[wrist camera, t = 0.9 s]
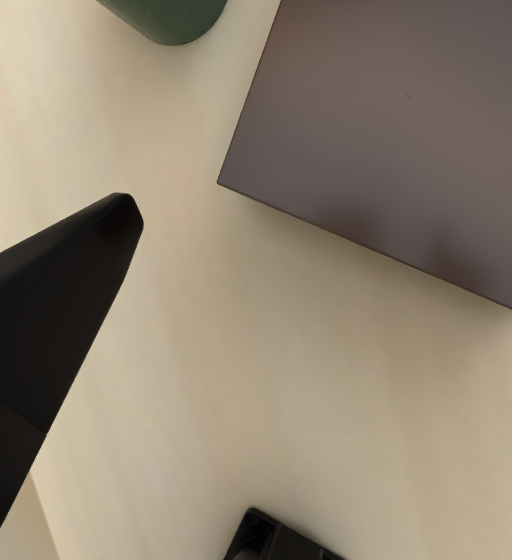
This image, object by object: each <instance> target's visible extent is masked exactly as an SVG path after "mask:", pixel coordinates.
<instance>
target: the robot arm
mask: <svg viewBox="0 0 512 560" xmlns="http://www.w3.org/2000/svg"><path fill="white" fill-rule="evenodd" d="M143 226H144V222H143V218H142V216H141V214H140V211H139V209H138V207H137V205H136V202H135V200H134V198H133V197H132V196H131V195H130V194H127V193H112V194H110V195H108V196H107V197H105V198H103V199H101V200H99V201H97V202H95V203H93V204H91V205H90V206H88V207H86V208H84V209H82V210H80V211H78V212H76V213H74V214H73V215H71V216H69V217H67V218H65V219H63V220H61V221H59V222H57V223H56V224H54V225H52V226H50V227H48V228H46V229H44V230H42V231H40V232H39V233H37V234H35V235H33V236H31V237H29V238H27V239H25V240H23V241H21V242H20V243H18V244H16V245H14V246H12V247H10V248H8V249H6V250H4V251H3V252H1V253H0V527H1V526H2V524H3V522H4V520H5V518H6V516H7V514H8V512H9V510H10V508H11V506H12V504H13V502H14V500H15V498H16V496H17V494H18V492H19V490H20V488H21V486H22V484H23V482H24V480H25V478H26V476H27V474H28V472H29V470H30V468H31V466H32V464H33V462H34V460H35V458H36V456H37V454H38V452H39V450H40V448H41V446H42V444H43V442H44V440H45V438H46V436H47V433H48V432H49V430H50V428H51V426H52V424H53V422H54V420H55V418H56V416H57V414H58V412H59V410H60V408H61V406H62V404H63V402H64V400H65V398H66V396H67V394H68V392H69V390H70V388H71V386H72V384H73V382H74V380H75V378H76V376H77V374H78V372H79V370H80V368H81V366H82V364H83V361H84V359H85V357H86V355H87V353H88V351H89V349H90V347H91V345H92V343H93V341H94V339H95V337H96V335H97V333H98V331H99V329H100V327H101V325H102V323H103V321H104V319H105V317H106V315H107V313H108V311H109V309H110V307H111V305H112V303H113V301H114V299H115V297H116V295H117V293H118V291H119V289H120V287H121V285H122V283H123V281H124V279H125V276H126V274H127V271H128V269H129V266H130V263H131V260H132V258H133V255H134V252H135V250H136V247H137V244H138V242H139V239H140V236H141V234H142V231H143ZM250 516H253V517H254V518H255V519H252V518H251V517H250ZM223 560H344V559H342V558H341V557H339V556H337V555H335V554H334V553H332V552H330V551H329V550H327V549H325V548H323V547H322V546H320V545H318V544H317V543H315V542H313V541H311V540H310V539H308V538H306V537H304V536H303V535H301V534H299V533H298V532H296V531H294V530H292V529H291V528H289V527H287V526H286V525H284V524H282V523H280V522H279V521H277V520H275V519H274V518H272V517H270V516H268V515H267V514H265V513H263V512H261V511H260V510H258V509H256V508H249V509H248V510H247V511H246V513H245V515H244V517H243V519H242V521H241V523H240V525H239V528H238V530H237V532H236V534H235V536H234V538H233V540H232V542H231V544H230V547H229V549H228V551H227V553H226V555H225V557H224V559H223Z"/></svg>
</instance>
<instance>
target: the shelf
mask: <svg viewBox="0 0 512 560" xmlns="http://www.w3.org/2000/svg"><path fill="white" fill-rule="evenodd" d="M217 184H218V185H221V186H223V187H225V188H228V189H230V190H232V191H235V192H237V193H239V194H242V195H244V196H246V197H249V198H251V199H253V200H256V201H258V202H260V203H263V204H265V205H267V206H270V207H272V208H274V209H277V210H279V211H281V212H284V213H286V214H289V215H291V216H293V217H296V218H298V219H300V220H303V221H305V222H307V223H310V224H312V225H314V226H317V227H319V228H321V229H324V230H326V231H328V232H331V233H333V234H335V235H338V236H340V237H342V238H345V239H347V240H350V241H352V242H354V243H357V244H359V245H361V246H364V247H366V248H368V249H371V250H373V251H375V252H378V253H380V254H382V255H385V256H387V257H389V258H392V259H394V260H396V261H399V262H401V263H403V264H406V265H408V266H411V267H413V268H415V269H418V270H420V271H422V272H425V273H427V274H429V275H432V276H434V277H436V278H439V279H441V280H443V281H446V282H448V283H450V284H453V285H455V286H457V287H460V288H462V289H464V290H467V291H469V292H472V293H474V294H476V295H479V296H481V297H483V298H486V299H488V300H490V301H493V302H495V303H497V304H500V305H502V306H504V307H507V308H509V309H511V310H512V0H281V2H280V5H279V7H278V10H277V13H276V16H275V19H274V22H273V24H272V27H271V30H270V33H269V36H268V38H267V41H266V44H265V47H264V50H263V53H262V55H261V58H260V61H259V64H258V67H257V70H256V72H255V75H254V78H253V81H252V84H251V86H250V89H249V92H248V95H247V98H246V101H245V103H244V106H243V109H242V112H241V115H240V118H239V120H238V123H237V126H236V129H235V132H234V134H233V137H232V140H231V143H230V146H229V149H228V151H227V154H226V157H225V160H224V163H223V166H222V168H221V171H220V174H219V177H218V180H217Z"/></svg>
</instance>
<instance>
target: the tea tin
mask: <svg viewBox="0 0 512 560" xmlns="http://www.w3.org/2000/svg"><path fill="white" fill-rule="evenodd" d="M96 1H97V2H99V3H100V4H101V5H103V6H104V7H106V8H107V9H108V10H110V11H111V12H112V13H114V14H115V15H116V16H118V17H119V18H121V19H122V20H123V21H125V22H126V23H127V24H129V25H130V26H131V27H133V28H134V29H136V30H137V31H138V32H140V33H141V34H142V35H144V36H145V37H147V38H148V39H150V40H151V41H154V42H156V43H159V44H163V45H180V44H185V43H188V42H191V41H193V40H195V39H196V38H198V37H200V36H201V35H202V34H204V33H205V32H206V31H207V30H208V29H209V28H210V27H211V26H212V25H213V24H214V23H215V21H216V20H217V18H218V17H219V15H220V14H221V12H222V10H223V8H224V6H225V3H226V1H227V0H96Z"/></svg>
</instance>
